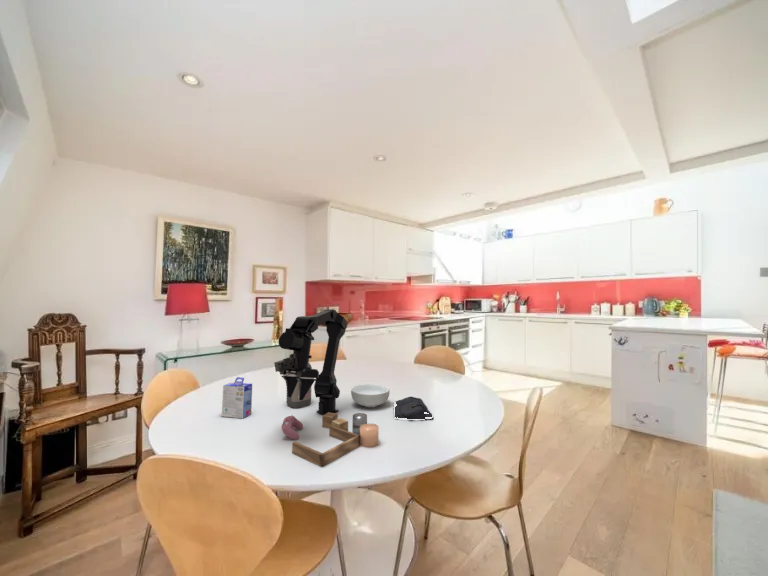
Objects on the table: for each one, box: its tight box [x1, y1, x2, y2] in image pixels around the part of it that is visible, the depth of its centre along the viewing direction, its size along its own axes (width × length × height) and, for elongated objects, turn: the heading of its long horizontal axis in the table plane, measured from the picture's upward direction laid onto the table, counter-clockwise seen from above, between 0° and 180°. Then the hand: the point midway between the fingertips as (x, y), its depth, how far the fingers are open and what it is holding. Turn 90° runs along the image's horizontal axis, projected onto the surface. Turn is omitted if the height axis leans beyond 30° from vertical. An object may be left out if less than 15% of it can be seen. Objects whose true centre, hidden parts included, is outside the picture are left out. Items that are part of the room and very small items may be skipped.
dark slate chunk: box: [394, 396, 433, 419], centre depth 127 cm, size 15×22×5 cm
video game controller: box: [281, 414, 304, 441], centre depth 104 cm, size 10×5×7 cm, turn 5°
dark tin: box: [351, 412, 368, 435], centre depth 105 cm, size 5×5×6 cm
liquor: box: [286, 362, 313, 409], centre depth 136 cm, size 9×9×30 cm
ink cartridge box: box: [221, 376, 253, 419], centre depth 122 cm, size 10×6×14 cm, turn 78°
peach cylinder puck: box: [360, 423, 380, 448], centre depth 98 cm, size 6×6×5 cm
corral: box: [291, 426, 361, 468], centre depth 94 cm, size 16×13×3 cm
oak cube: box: [332, 417, 349, 431], centre depth 106 cm, size 4×4×4 cm
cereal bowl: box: [350, 383, 390, 408], centre depth 135 cm, size 17×17×7 cm
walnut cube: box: [321, 412, 339, 429], centre depth 112 cm, size 4×4×4 cm
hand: (295, 398), depth 104 cm, fingers open, 9 cm apart
